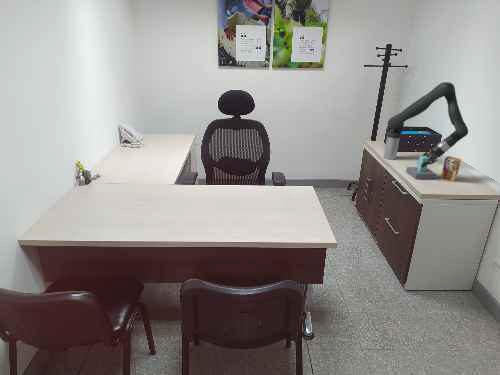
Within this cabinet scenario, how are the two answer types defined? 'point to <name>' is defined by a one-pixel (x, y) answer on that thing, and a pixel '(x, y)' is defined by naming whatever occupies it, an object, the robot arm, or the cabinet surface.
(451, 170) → the candy box
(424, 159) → the teal peg
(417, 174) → the socket block
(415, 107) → the robot arm
